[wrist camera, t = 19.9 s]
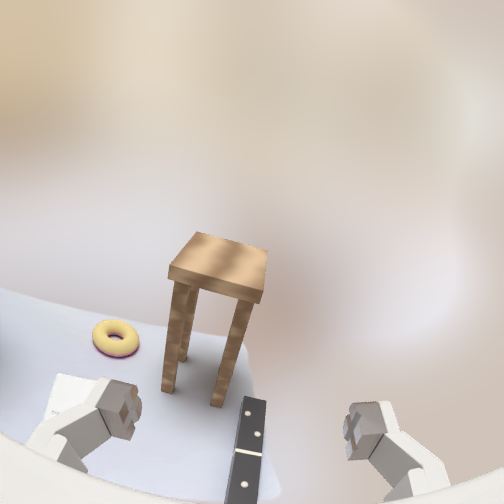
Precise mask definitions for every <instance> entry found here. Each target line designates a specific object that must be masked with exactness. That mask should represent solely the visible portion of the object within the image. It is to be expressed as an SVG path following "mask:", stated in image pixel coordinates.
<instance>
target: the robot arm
mask: <svg viewBox="0 0 504 504" xmlns="http://www.w3.org/2000/svg"><path fill="white" fill-rule="evenodd" d="M137 393H138V388H137V386H136V385H133V384H129V383H125V382H121V381H117V380H113V379H109V378H105V377H101V378H99V379H98V381H97V382H96V384H95V385H94V387H93V389H92V390H91V392H90V394H89V395H88V397H87V399H86V400H85V402H84V404H83V403H79V404H77V405H75V406H73V407H71V408H70V409H68V410H66V411H64V412H62V413H60V414H58V415H56V416H54V417H52V418H50V419H48V420H46V421H44V422H42V423H39V424H38V425H37V426H36V428H35V430H34V431H33V433H32V434H31V436H30V437H29V439H28V441H27V442H26V444H25V445H23V444H21V443H19V442H17V441H16V440H14V439H12V438H10V437H9V436H7V435H5V434H4V433H2V432H0V504H199V503H193V502H187V501H182V500H177V499H172V498H167V497H162V496H158V495H154V494H150V493H146V492H142V491H138V490H135V489H131V488H128V487H124V486H121V485H118V484H115V483H112V482H109V481H106V480H103V479H100V478H97V477H94V476H91V475H89V474H87V472H88V469H87V467H86V466H85V465H84V463H83V462H82V461H81V459H82V458H83V457H85V456H86V455H88V454H89V453H90V452H92V451H93V450H94V449H96V448H97V447H99V446H100V445H101V444H103V443H104V442H105V441H107V440H108V439H109V438H111V436H113V437H117V438H121V439H125V440H129V441H130V440H131V438H132V435H133V433H134V430H135V426H134V423H135V422H137V421H138V420H139V418H140V416H141V411H142V402H141V399H140V398H139V397H138V396H137ZM349 412H350V414H349V415H347V416H346V418H345V421H344V426H343V433H344V438H345V439H346V440H347V441H348V443H347V445H346V452H347V457H348V460H364V459H369V462H370V463H371V464H372V465H373V466H374V467H375V468H376V469H377V470H378V472H379V473H380V474H381V475H382V476H383V477H384V478H385V479H386V481H387V482H388V483H389V484H390V485H391V486H392V487H393V489H392V490H391V491H390V493H388V495H387V496H386V497H385V498H384V502H383V503H377V504H504V466H502V467H500V468H498V469H495V470H493V471H491V472H489V473H486V474H484V475H481V476H478V477H476V478H473V479H470V480H467V481H464V482H462V483H458V484H456V485H452V486H451V484H450V481H449V478H448V475H447V473H446V470H445V467H444V464H443V462H442V461H441V460H440V459H439V458H437V457H436V456H435V455H433V454H432V453H431V452H430V451H428V450H427V449H426V448H424V447H423V446H422V445H421V444H419V443H418V442H417V441H415V440H414V439H413V438H412V437H410V436H409V435H408V434H407V433H406V432H404V431H402V432H401V431H400V428H399V425H398V422H397V419H396V416H395V413H394V410H393V407H392V405H391V402H390V401H379V402H361V403H352V404H351V406H350V408H349Z"/></svg>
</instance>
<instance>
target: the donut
mask: <svg viewBox="0 0 504 504" xmlns="http://www.w3.org/2000/svg"><path fill="white" fill-rule="evenodd" d="M109 335H118V336H120V337H122V338H123V340H113V339H111V338H109V337H108V336H109ZM92 337H93V341H94V343H95V345H96V347H97V348H98V349H99V350H101V351H102V352H103V353H105V354H108V355H110V356H115V357H123V356H127V355H130V354H131V353H133V352H134V351H135V350H136V349H137V347H138V345H139V336H138V334H137V332H136V330H135V329H134V328H133V327H132V326H131V325H129V324H128V323H126V322H123V321H120V320H114V319H110V320H104V321H102V322H100V323H98V324H97V325H96V326H95V328H94V330H93V333H92Z"/></svg>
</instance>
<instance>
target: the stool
mask: <svg viewBox="0 0 504 504" xmlns="http://www.w3.org/2000/svg"><path fill="white" fill-rule="evenodd" d="M266 261H267V250H264V249H260V248H256V247H252V246H249V245H245V244H241V243H237V242H234V241H230V240H227V239H222V238H219V237H215V236H212V235H207V234H204V233H200V232H196V233H195V234H194V236H193V237H192V238H191V239H190V241H189V242H188V243H187V244H186V245H185V247H184V248H183V249H182V250H181V251H180V253H179V254H178V255H177V256H176V258H175V259H174V260H173V261H172V263H171V264H170V266H169V272H168V279H170V280H174V281H175V282H174V289H173V296H172V302H171V309H170V317H169V324H168V331H167V339H166V347H165V356H164V365H163V375H162V385H161V391H163V392H166V393H170V394H172V392H173V390H174V387H175V380H176V374H177V367H178V361H181V362H185V359H186V357H187V351H188V346H189V340H190V335H191V329H192V324H193V319H194V313H195V308H196V303H197V298H198V292H199V288H202V289H205V290H208V291H212V292H215V293H219V294H223V295H226V296H230V297H234V298H238V303H237V306H236V310H235V313H234V317H233V321H232V325H231V328H230V331H229V335H228V339H227V342H226V346H225V350H224V353H223V357H222V361H221V364H220V368H219V374H218V378H217V381H216V385H215V389H214V392H213V396H212V400H211V404H210V405H211V406H215V407H219V408H221V407H222V404H223V401H224V398H225V395H226V392H227V388H228V385H229V382H230V379H231V376H232V373H233V370H234V366H235V363H236V360H237V357H238V354H239V350H240V347H241V344H242V341H243V337H244V334H245V331H246V328H247V325H248V321H249V318H250V315H251V311H252V308H253V305H254V303H256V304H259V303H260V300H261V297H262V294H263V290H264V280H265V271H266Z"/></svg>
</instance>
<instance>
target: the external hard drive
mask: <svg viewBox="0 0 504 504" xmlns="http://www.w3.org/2000/svg"><path fill="white" fill-rule="evenodd" d="M96 382H97V381H95V380H89V379H84V378H80V377H75V376H70V375H66V374H62V373H57V375H56V378H55V381H54V384H53V387H52V390H51V394H50V397H49V400H48V403H47V407H46V410H45V414H44V417H43V421H42V422H44V421H46V420H48V419H50V418H52V417H54V416H56V415H58V414H60V413H62V412H64V411H66V410H68V409H70V408H71V407H73V406H75V405H77V404H79V403H83V404H84V402H85V400H86V399H87V397H88V395H89V394H90V392H91V390H92V389H93V387H94V385H95V384H96Z"/></svg>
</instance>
